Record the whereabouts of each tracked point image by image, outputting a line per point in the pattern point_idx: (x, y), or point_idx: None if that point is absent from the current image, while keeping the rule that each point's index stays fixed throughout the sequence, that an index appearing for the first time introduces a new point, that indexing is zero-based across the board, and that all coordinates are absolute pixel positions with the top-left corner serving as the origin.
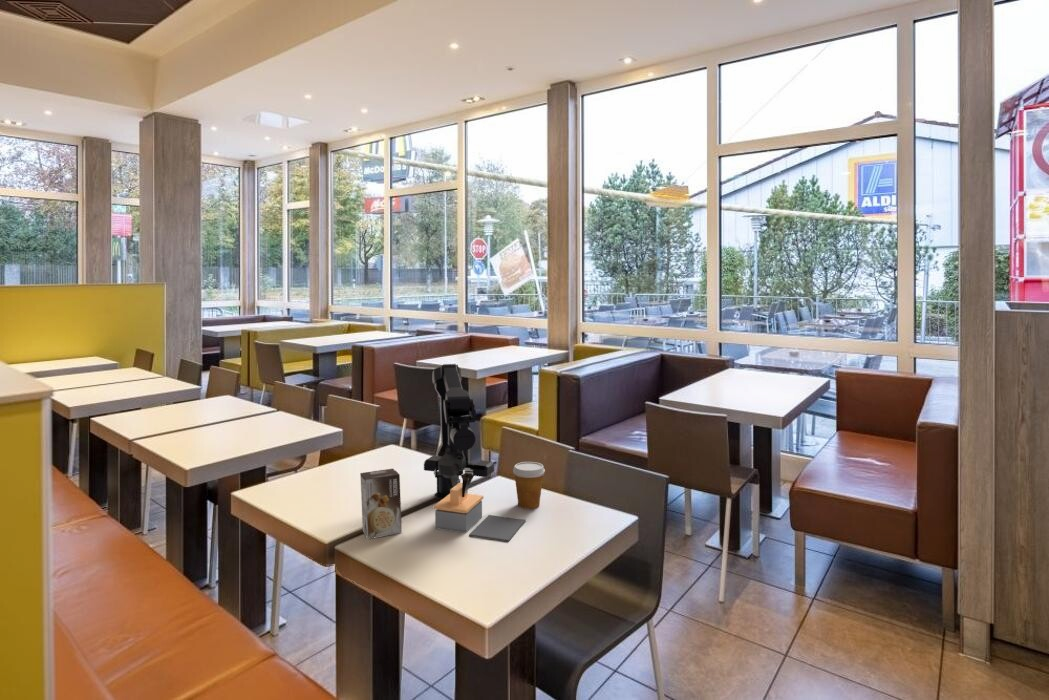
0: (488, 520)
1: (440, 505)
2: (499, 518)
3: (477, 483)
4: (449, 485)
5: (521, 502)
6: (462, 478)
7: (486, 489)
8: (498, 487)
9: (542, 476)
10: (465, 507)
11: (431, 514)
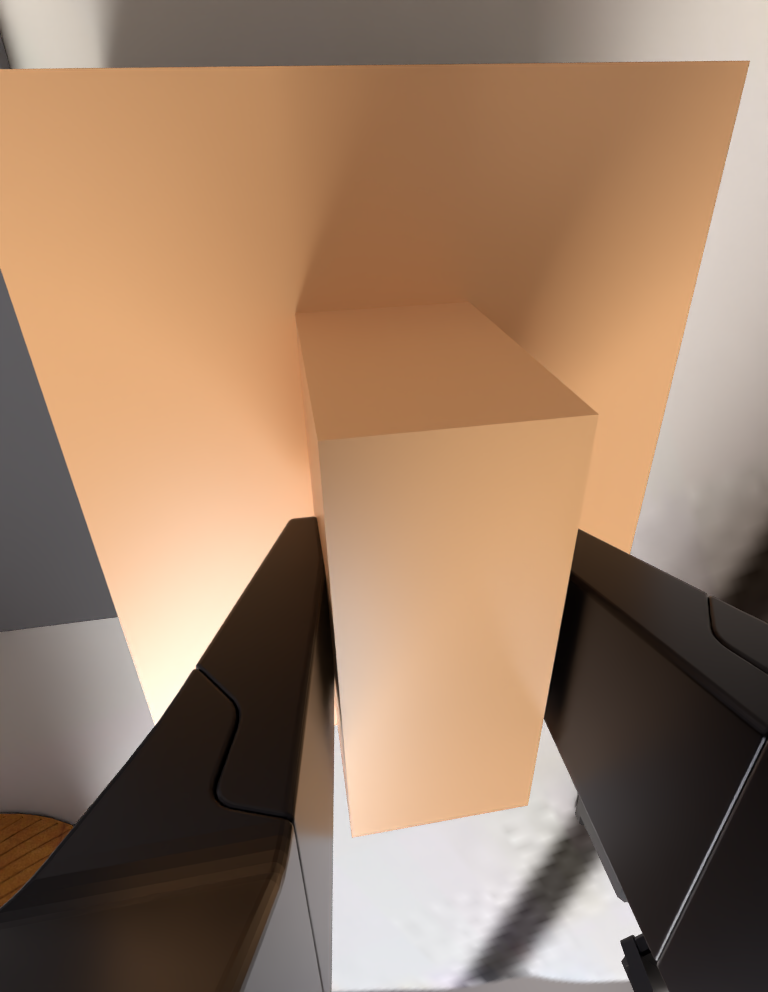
0: (68, 506)
1: (622, 146)
2: (3, 587)
3: (520, 911)
4: (685, 591)
5: (4, 857)
6: (216, 936)
7: (434, 887)
8: (377, 927)
9: None
10: (85, 238)
11: (678, 438)
